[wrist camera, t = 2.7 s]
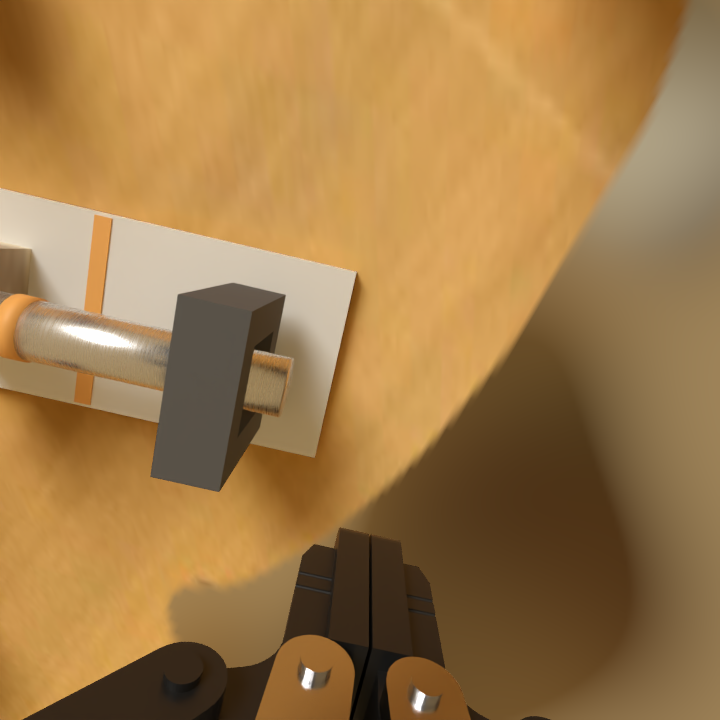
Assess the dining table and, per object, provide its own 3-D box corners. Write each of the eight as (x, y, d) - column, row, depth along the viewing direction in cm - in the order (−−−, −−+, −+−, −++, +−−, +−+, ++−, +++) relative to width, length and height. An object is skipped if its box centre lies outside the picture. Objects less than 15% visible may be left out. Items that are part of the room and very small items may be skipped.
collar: (232, 282, 27) (177, 294, 19) (286, 294, 27) (252, 311, 20) (209, 416, 29) (150, 476, 21) (259, 427, 29) (219, 491, 21)
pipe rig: (-3, 187, 29) (-190, 154, 20) (356, 271, 30) (350, 280, 20) (-17, 377, 32) (-187, 432, 22) (316, 451, 33) (293, 536, 23)
